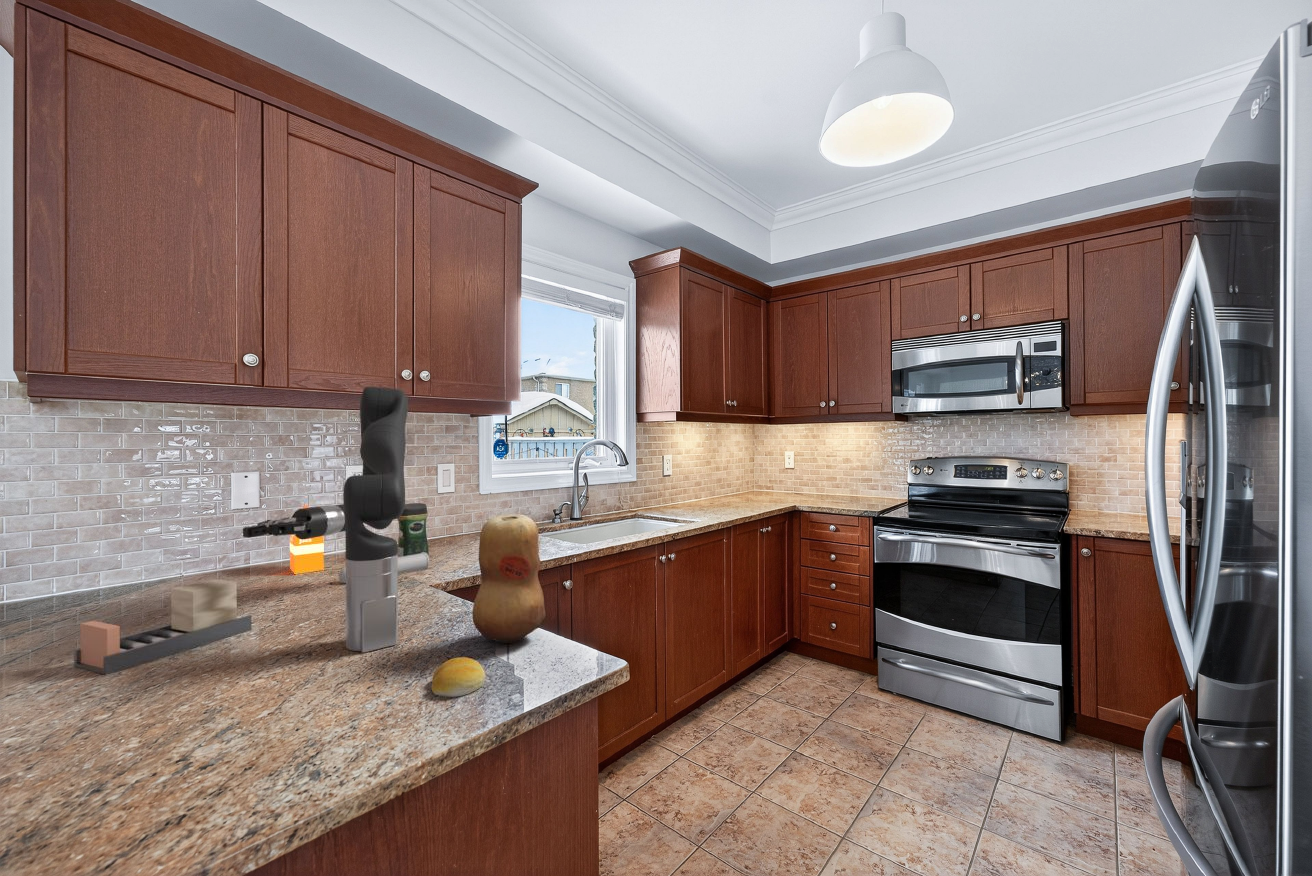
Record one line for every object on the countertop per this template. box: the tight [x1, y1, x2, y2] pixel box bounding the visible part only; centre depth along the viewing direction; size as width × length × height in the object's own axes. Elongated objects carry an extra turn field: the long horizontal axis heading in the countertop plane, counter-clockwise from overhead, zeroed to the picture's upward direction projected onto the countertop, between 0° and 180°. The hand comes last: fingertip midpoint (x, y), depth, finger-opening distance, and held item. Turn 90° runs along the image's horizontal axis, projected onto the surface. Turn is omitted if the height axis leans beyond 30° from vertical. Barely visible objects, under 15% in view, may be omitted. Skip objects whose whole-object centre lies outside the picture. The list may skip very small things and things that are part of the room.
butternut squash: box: [472, 513, 546, 644], centre depth 110 cm, size 14×13×25 cm
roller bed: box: [73, 614, 253, 675], centre depth 108 cm, size 24×10×3 cm, turn 159°
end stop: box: [80, 620, 121, 668], centre depth 98 cm, size 2×8×7 cm, turn 69°
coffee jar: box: [396, 502, 430, 557], centre depth 188 cm, size 10×8×19 cm
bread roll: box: [431, 656, 487, 698], centre depth 91 cm, size 8×9×4 cm
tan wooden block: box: [170, 578, 238, 632], centre depth 114 cm, size 8×7×8 cm
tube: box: [338, 552, 430, 584], centre depth 164 cm, size 5×5×25 cm
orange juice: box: [289, 504, 325, 575], centre depth 171 cm, size 8×9×20 cm
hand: (245, 532), depth 121 cm, fingers closed
